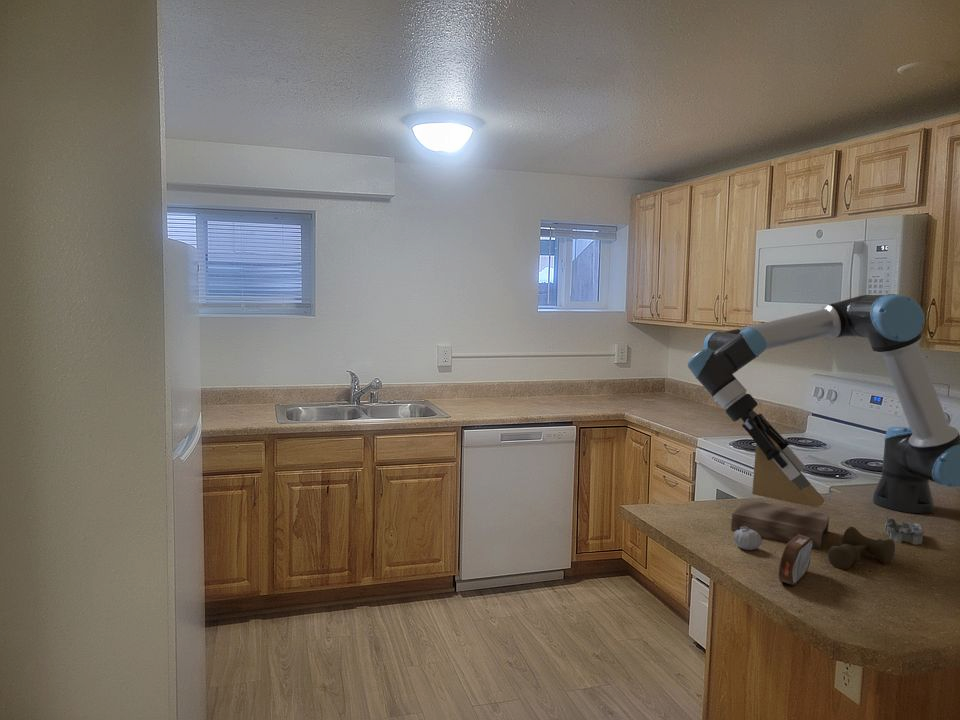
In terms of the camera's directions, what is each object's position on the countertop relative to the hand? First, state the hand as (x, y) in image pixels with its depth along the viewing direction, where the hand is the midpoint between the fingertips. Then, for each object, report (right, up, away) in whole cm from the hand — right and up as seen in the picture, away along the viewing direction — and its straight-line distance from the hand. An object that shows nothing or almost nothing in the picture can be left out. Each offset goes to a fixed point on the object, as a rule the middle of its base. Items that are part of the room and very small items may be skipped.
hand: (798, 473), depth 168 cm
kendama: (+7, -17, -15) cm, 24 cm away
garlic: (-17, -16, -11) cm, 25 cm away
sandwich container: (-2, -6, +1) cm, 7 cm away
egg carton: (+27, -17, +3) cm, 32 cm away
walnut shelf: (-3, -15, +3) cm, 15 cm away
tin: (-13, -17, -27) cm, 35 cm away
